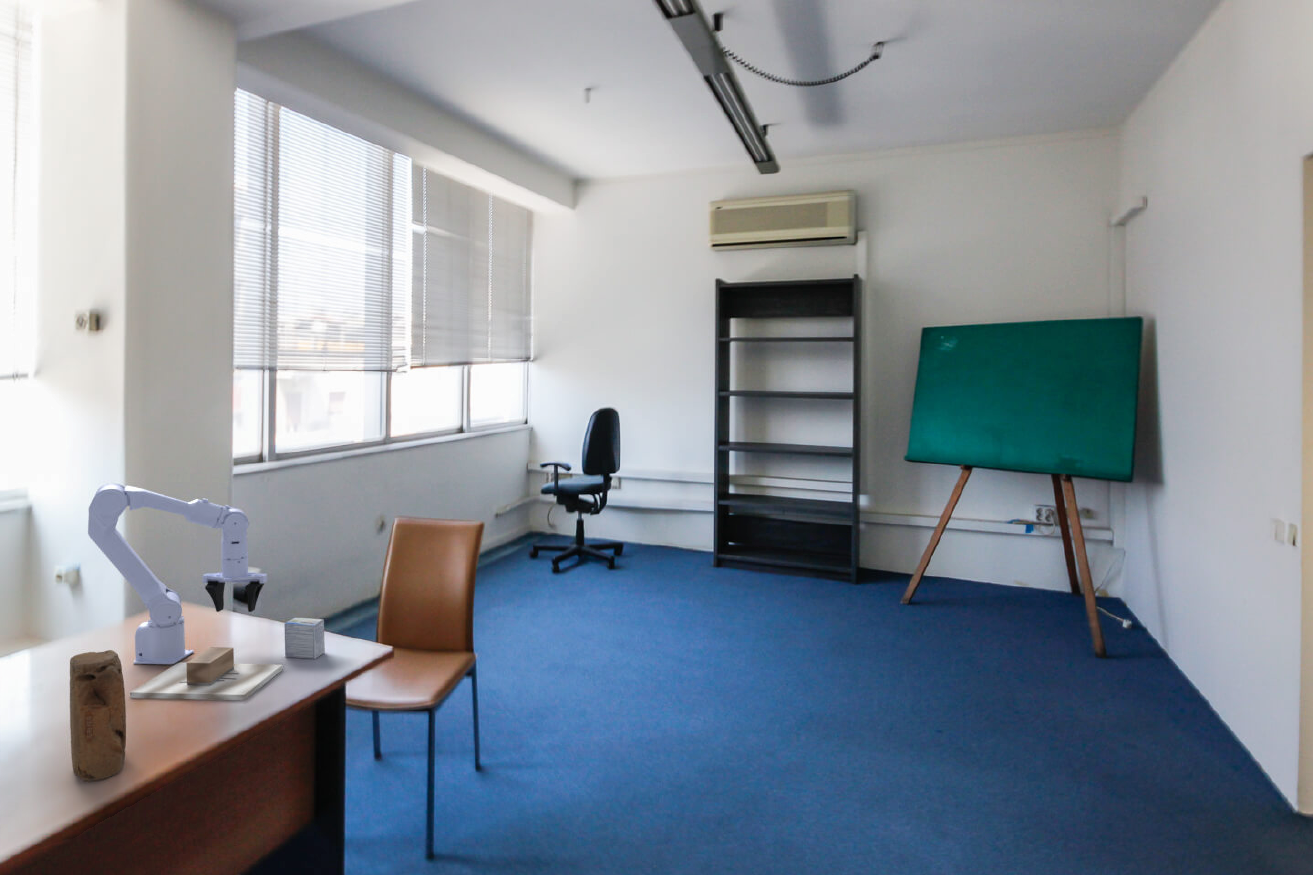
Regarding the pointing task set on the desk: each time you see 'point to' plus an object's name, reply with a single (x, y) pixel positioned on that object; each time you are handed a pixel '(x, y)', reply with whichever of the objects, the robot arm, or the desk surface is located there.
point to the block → (97, 714)
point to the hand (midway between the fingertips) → (235, 610)
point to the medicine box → (304, 638)
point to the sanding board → (226, 688)
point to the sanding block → (210, 666)
